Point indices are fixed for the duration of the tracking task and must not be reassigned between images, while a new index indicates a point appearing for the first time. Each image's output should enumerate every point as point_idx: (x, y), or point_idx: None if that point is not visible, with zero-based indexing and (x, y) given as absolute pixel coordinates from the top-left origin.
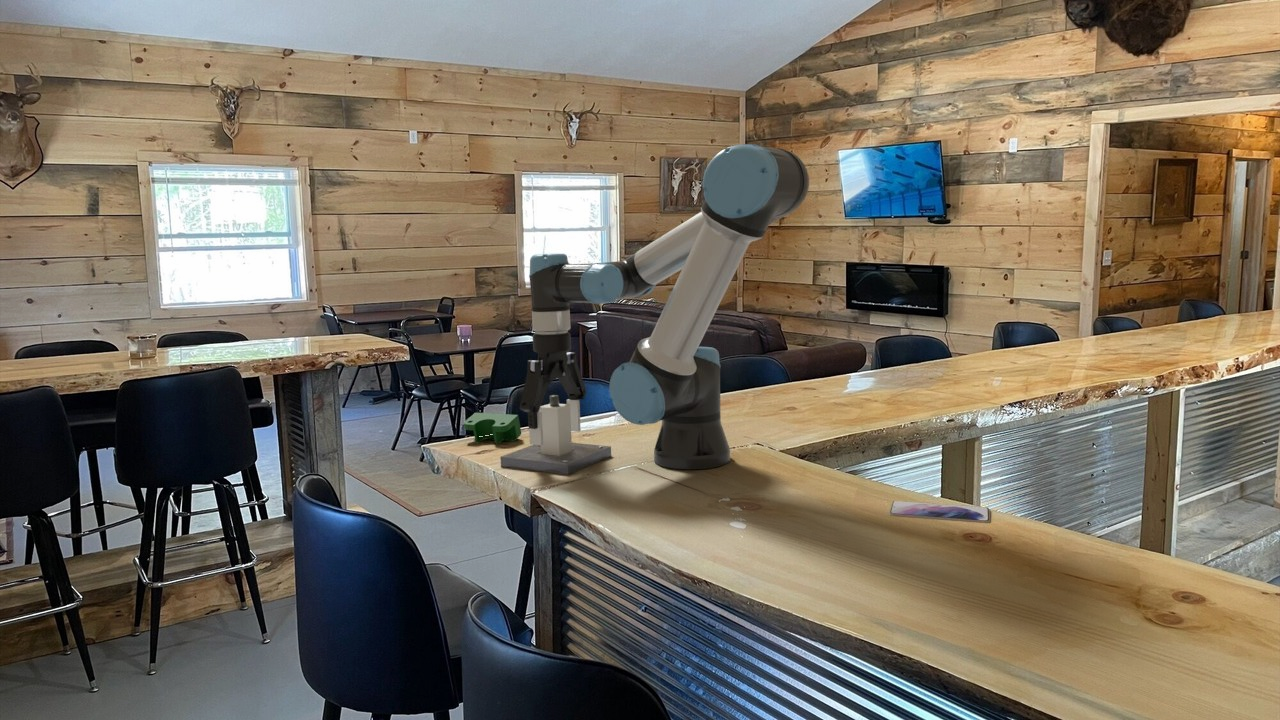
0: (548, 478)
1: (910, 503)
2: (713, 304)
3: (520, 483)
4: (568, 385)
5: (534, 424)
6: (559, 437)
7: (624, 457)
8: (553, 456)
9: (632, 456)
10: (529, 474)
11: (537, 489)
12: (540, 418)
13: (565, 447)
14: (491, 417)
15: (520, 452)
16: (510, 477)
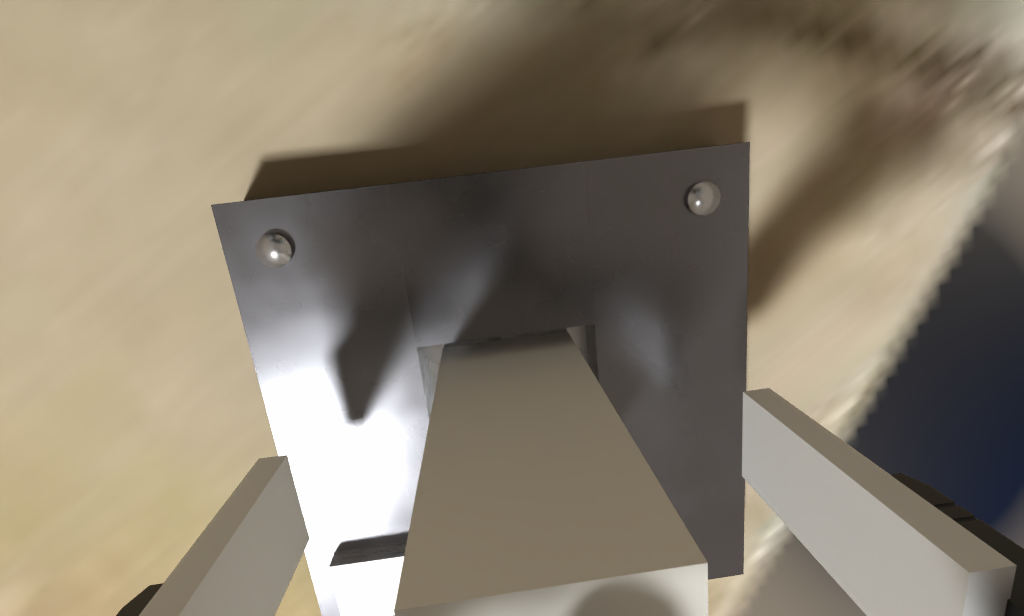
0: (815, 193)
1: None
2: None
3: (939, 254)
4: None
5: (939, 499)
6: (592, 392)
7: (213, 102)
8: (620, 352)
9: (157, 69)
10: (784, 332)
11: (1014, 96)
12: (930, 514)
13: (511, 366)
14: None
15: None
16: (861, 371)
